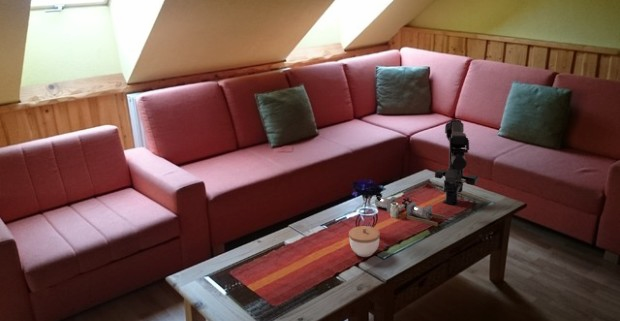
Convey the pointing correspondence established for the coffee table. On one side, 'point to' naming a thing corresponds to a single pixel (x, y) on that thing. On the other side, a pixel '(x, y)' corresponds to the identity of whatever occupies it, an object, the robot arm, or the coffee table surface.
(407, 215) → the cradle rails
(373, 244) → the lidded bowl
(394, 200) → the pipe stub
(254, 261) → the coffee table surface
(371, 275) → the coffee table surface
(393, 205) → the valve
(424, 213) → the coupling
